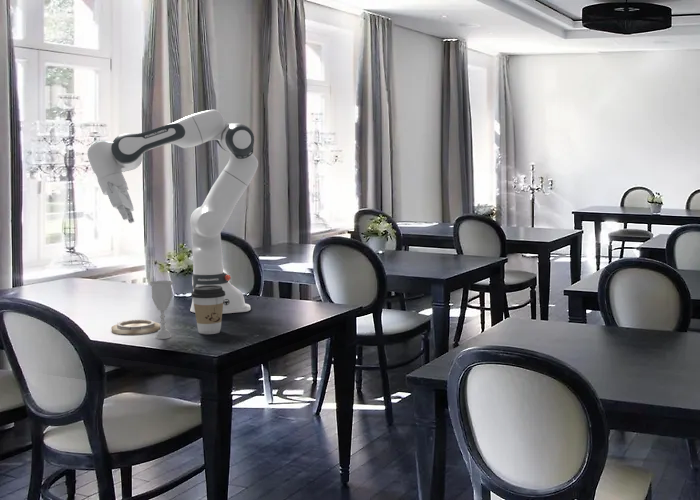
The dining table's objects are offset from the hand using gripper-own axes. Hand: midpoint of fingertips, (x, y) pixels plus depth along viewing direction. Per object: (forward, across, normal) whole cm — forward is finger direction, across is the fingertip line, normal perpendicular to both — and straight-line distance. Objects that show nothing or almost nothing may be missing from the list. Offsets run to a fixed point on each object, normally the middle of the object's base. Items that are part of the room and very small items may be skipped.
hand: (129, 221), depth 298 cm
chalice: (+43, -20, +2) cm, 48 cm away
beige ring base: (+36, -8, +11) cm, 39 cm away
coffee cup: (+48, -14, -11) cm, 51 cm away
